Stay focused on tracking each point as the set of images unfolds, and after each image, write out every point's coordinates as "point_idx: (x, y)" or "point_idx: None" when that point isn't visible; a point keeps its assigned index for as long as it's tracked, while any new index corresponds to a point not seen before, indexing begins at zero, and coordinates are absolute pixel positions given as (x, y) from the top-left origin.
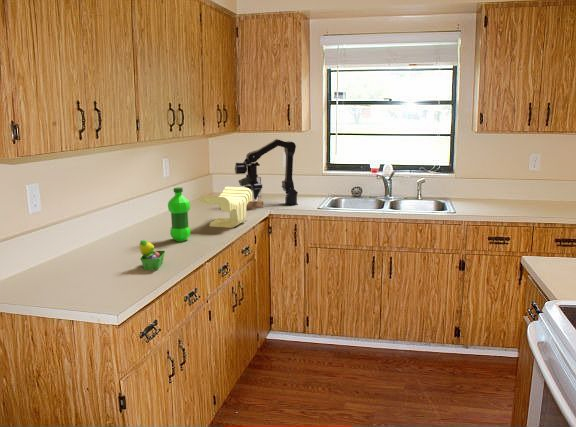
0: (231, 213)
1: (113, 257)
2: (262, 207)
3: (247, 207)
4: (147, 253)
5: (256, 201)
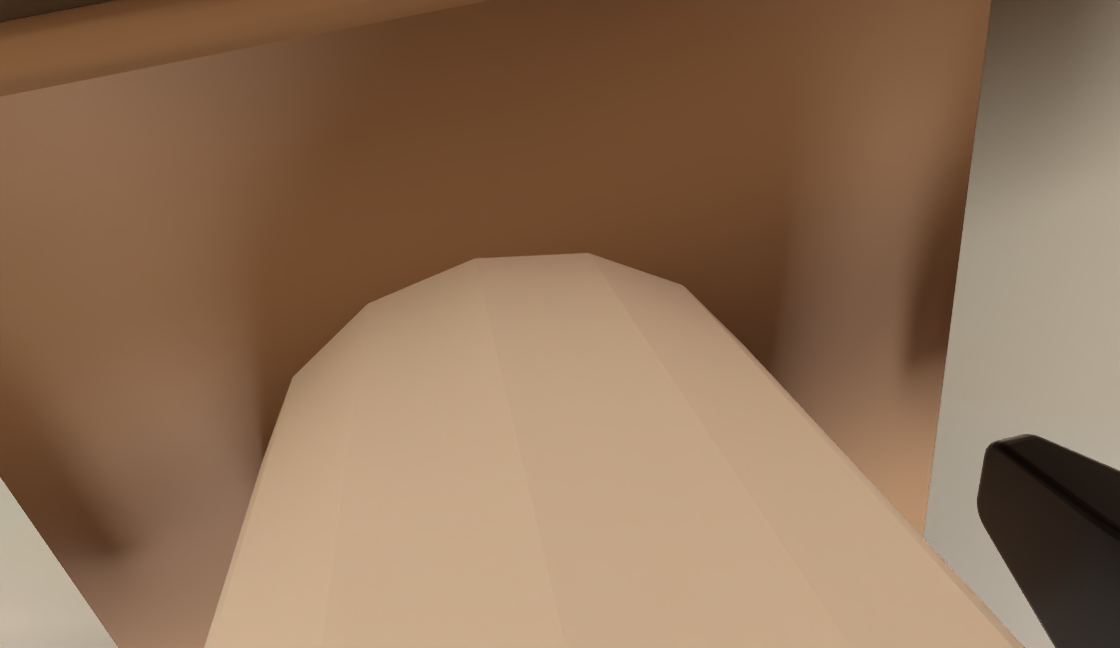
0: None
1: None
2: None
3: (47, 24)
4: None
5: None
